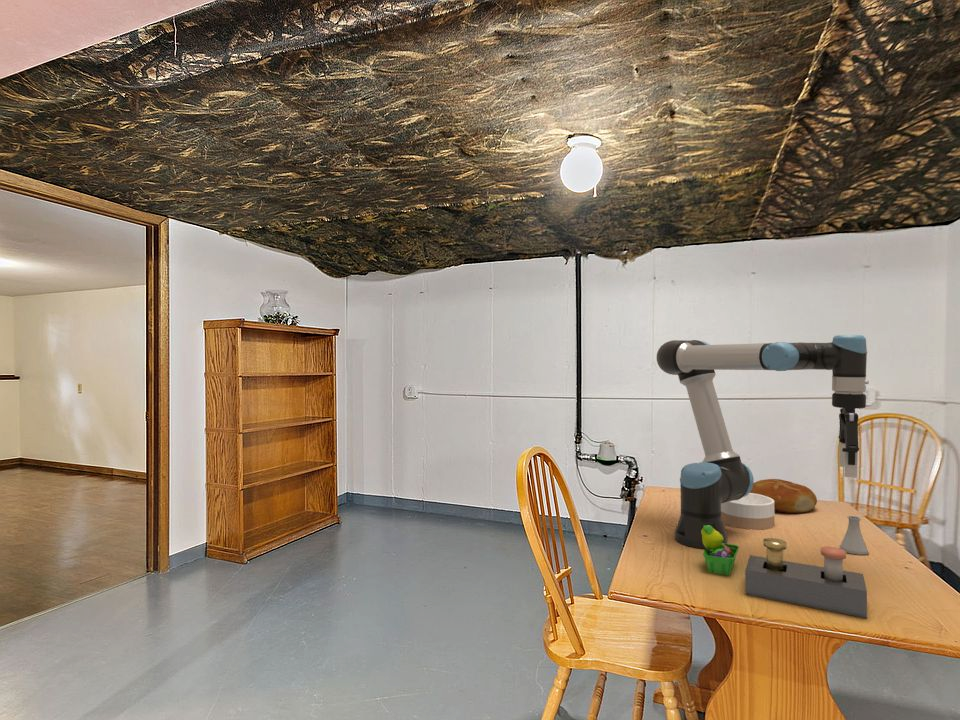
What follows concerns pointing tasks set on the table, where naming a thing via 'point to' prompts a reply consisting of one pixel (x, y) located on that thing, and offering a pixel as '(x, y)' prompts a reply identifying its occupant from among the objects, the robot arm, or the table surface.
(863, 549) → the flask
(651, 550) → the table surface
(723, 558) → the fruit basket
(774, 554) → the brass plunger
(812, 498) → the bread
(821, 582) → the block
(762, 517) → the bowl
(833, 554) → the red plunger
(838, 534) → the table surface
